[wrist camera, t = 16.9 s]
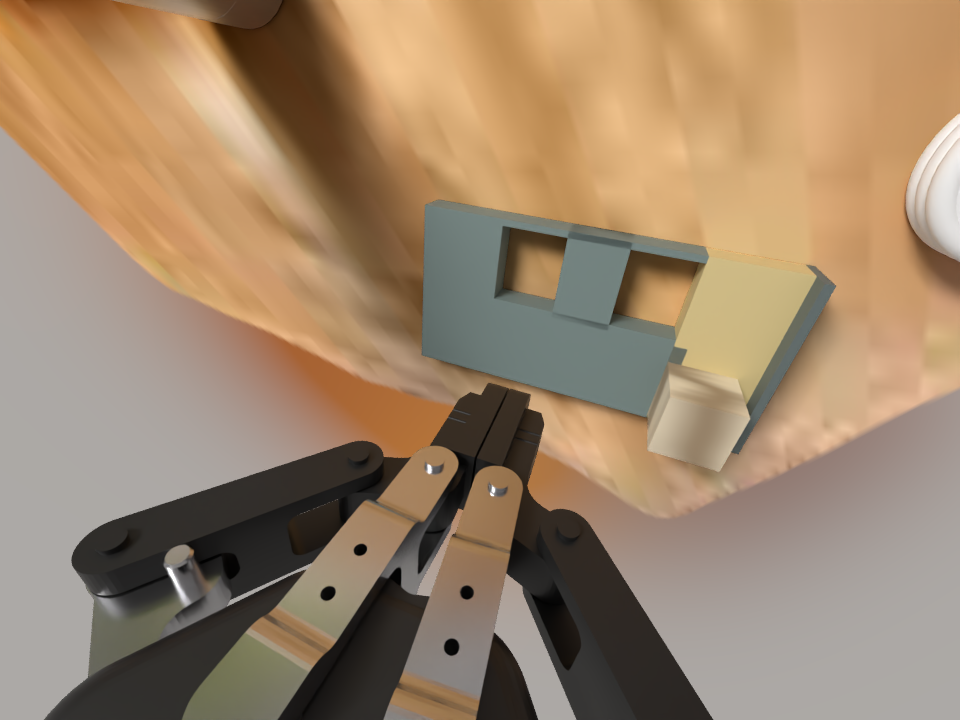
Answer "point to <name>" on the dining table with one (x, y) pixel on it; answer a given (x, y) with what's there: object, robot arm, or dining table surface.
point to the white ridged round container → (937, 192)
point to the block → (696, 416)
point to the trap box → (609, 312)
